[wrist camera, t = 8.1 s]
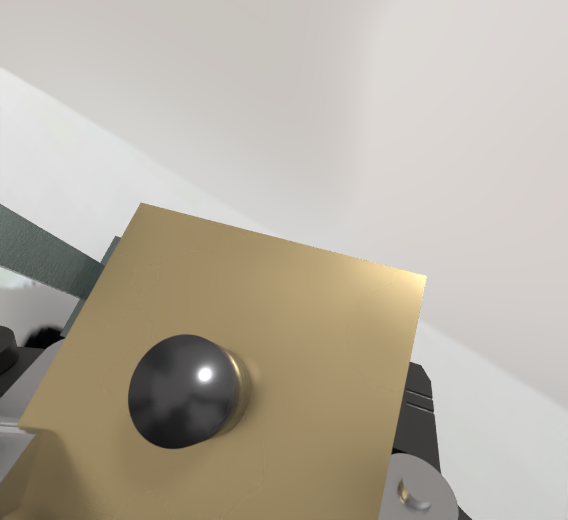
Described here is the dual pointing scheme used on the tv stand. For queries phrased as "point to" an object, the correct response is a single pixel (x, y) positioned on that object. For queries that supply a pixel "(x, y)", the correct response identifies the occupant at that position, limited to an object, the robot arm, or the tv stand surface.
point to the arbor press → (48, 259)
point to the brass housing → (224, 381)
